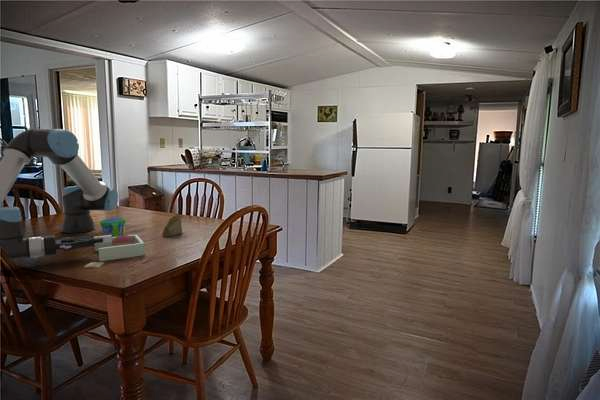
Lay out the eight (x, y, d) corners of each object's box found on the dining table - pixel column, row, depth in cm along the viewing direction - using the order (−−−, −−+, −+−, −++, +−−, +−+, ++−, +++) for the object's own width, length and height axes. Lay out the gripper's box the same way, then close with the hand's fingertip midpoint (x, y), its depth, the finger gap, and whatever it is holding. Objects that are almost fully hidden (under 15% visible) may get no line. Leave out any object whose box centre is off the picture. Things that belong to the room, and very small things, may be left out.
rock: (161, 233, 189) (182, 229, 192) (158, 217, 193) (179, 214, 196) (163, 242, 198) (184, 238, 202) (161, 227, 202) (181, 223, 205)
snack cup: (101, 238, 188) (100, 217, 186) (125, 236, 192) (124, 216, 191) (101, 246, 174) (99, 224, 172) (127, 244, 178) (126, 222, 177)
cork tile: (84, 269, 146) (84, 266, 146) (91, 265, 151) (91, 262, 151) (98, 269, 146) (98, 266, 146) (104, 265, 151) (104, 262, 151)
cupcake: (118, 249, 171) (116, 221, 169) (138, 249, 170) (136, 222, 169) (108, 254, 162) (106, 226, 160) (129, 255, 162) (127, 226, 160)
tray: (99, 261, 154) (98, 248, 153) (95, 250, 168) (94, 239, 167) (145, 255, 163) (144, 243, 162) (137, 245, 177) (136, 234, 176)
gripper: (44, 251, 156) (110, 243, 169) (44, 260, 146) (114, 251, 158) (43, 233, 155) (109, 226, 168) (42, 240, 144) (113, 232, 157)
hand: (111, 238), depth 163 cm, fingers closed
